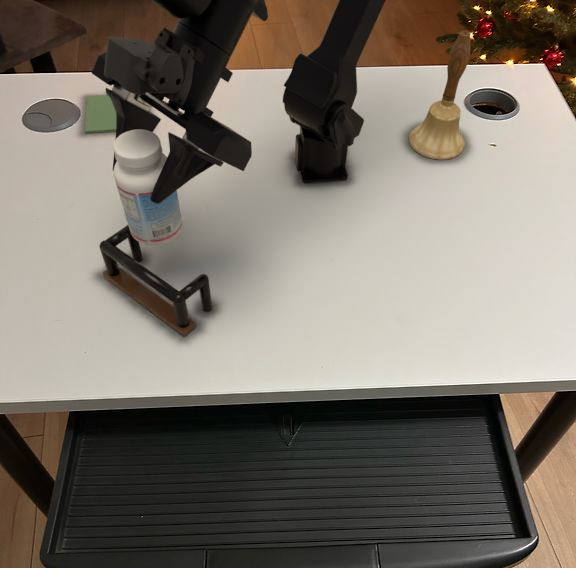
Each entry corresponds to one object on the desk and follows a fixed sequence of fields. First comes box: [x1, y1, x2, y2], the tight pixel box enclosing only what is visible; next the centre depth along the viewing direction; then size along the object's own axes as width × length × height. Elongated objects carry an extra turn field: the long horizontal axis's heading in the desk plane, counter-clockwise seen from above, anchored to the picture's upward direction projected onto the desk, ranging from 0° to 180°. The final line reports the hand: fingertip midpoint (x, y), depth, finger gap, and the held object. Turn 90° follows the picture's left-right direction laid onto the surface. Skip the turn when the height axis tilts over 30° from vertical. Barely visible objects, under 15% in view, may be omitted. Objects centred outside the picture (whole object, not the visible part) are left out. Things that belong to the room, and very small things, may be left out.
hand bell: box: [408, 30, 471, 161], centre depth 83 cm, size 8×8×16 cm
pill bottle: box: [112, 129, 183, 246], centre depth 65 cm, size 6×6×11 cm
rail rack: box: [98, 224, 213, 337], centre depth 70 cm, size 5×14×6 cm, turn 50°
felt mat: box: [84, 94, 116, 134], centre depth 92 cm, size 9×9×1 cm
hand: (135, 187), depth 63 cm, fingers closed on pill bottle, 6 cm apart
